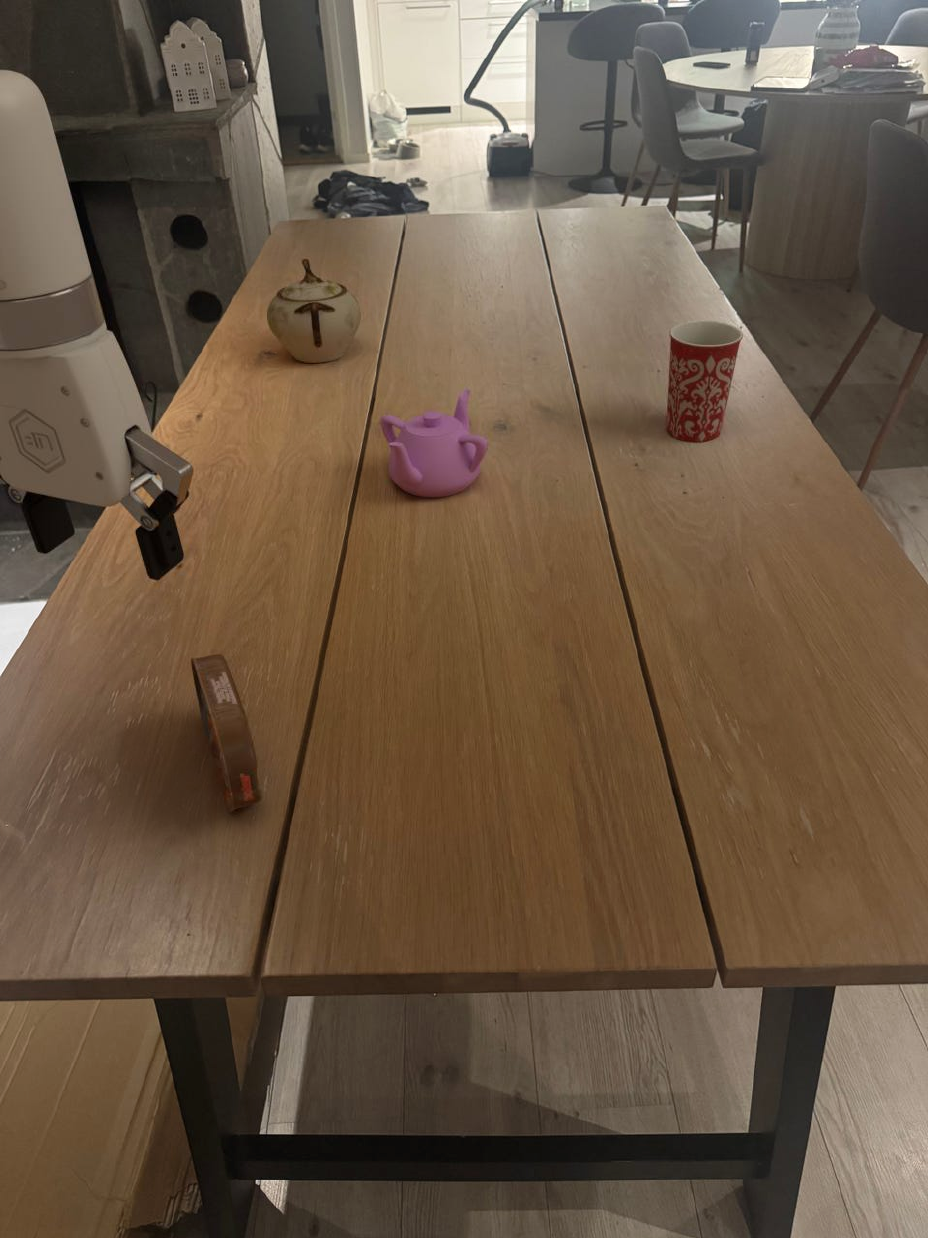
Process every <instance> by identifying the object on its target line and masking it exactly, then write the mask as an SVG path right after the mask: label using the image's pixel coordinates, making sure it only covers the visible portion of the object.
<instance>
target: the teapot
mask: <svg viewBox="0 0 928 1238" xmlns="http://www.w3.org/2000/svg"><path fill="white" fill-rule="evenodd" d="M470 395H471V390H470V389H465V390H463V391H462V392H461V393H460V395H459V396H458V399H457V403H456V406H455V409H454V415H449V414H446V413H441V412H440V411H438V410H427V411H425V412H423V413H422V414H419V415H417V416H414V417H412V418H409V420H407V421H404V420H403V419H400V418H399V417H397V416H394V415H391V414H384V415H382V416H381V418H380V427H381V430H382V435H383V436H384V438H385V440H386V442H387V445H388V446H389V447H390V449H391V451H390V453H389V458H388V459H389V460H388V474H389V477H390V478H391V480H392V481H393V482H394V483H395V485H397V486H398V487H399V489H402V491H404V492H405V493H408V494H410V495H413V496H416V497H420V498H443V497H444V498H445V497H450V496H453V495H456V494H459V493H460V492H461V493H462V492H463V491H465V490H466V489H467V488H469V486H470V485H471V484H473V482H474V481H475V480H476V479H477V478H478V476H479V475H480V473H481V469H482V462H483V460H484V458H485V456H486V455H487V453H488V449H489V443H488V440H487V438H486V437H485V436H483V435H478V434H471V426H470V420H469V414H468V402H469V398H470ZM394 427H396V428H397V429H399V430H400V431H399V432H398V435H397V436H396V434H395V431H394Z"/></svg>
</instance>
